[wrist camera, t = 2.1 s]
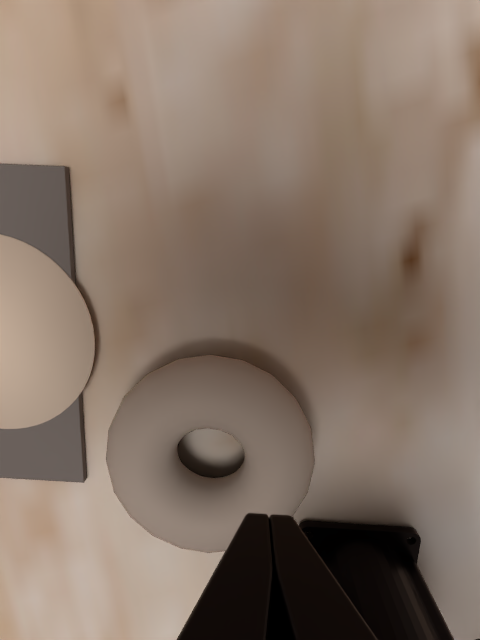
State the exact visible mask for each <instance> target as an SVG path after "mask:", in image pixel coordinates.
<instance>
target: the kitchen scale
mask: <svg viewBox="0 0 480 640" xmlns="http://www.w3.org/2000/svg"><path fill="white" fill-rule="evenodd" d="M94 356H95V336H94V328H93V324H92V320H91V316H90V313H89V310H88V308H87V305H86V303H85V301H84V299H83V297H82V295H81V293H80V291H79V289H78V288H77V287H76V283H75V266H74V249H73V232H72V215H71V198H70V181H69V168H68V167H65V166H44V165H18V164H0V478H14V479H31V480H48V481H65V482H82V483H84V481H85V480H86V478H87V472H86V455H85V438H84V421H83V403H82V390H83V389H84V387H85V385H86V383H87V381H88V379H89V377H90V373H91V370H92V367H93V362H94Z"/></svg>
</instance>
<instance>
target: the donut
mask: <svg viewBox="0 0 480 640" xmlns="http://www.w3.org/2000/svg"><path fill="white" fill-rule="evenodd" d="M203 428H211V429H217V430H222V431H224V432H226V433H228V434H230V435H232V436H233V437H234V438H235V439H236V440H237V441H239V442H240V444H241V446H242V448H243V450H244V453H245V458H244V462H243V464H242V465H241V467H240V468H239V469H238V470H237V471H236V472H235V473H233V474H230V475H228V476H226V477H219V478H209V477H203V476H200V475H198V474H195V473H193V472H191V471H190V470H189V469H188V468H186V467H185V466H184V465H183V464H182V463H181V461H180V459H179V457H178V452H177V446H178V443H179V441H180V439H181V438H183V437H184V436H185V435H186V434H187V433H189V432H192V431H194V430H196V429H203ZM106 462H107V466H108V470H109V474H110V478H111V482H112V486H113V490H114V493H115V494H116V496H117V497H118V499H119V500H120V502H121V503H122V505H123V507H124V508H125V510H126V511H127V513H128V514H129V516H130V517H131V518H132V519H134V520H135V521H136V522H137V523H138V524H139V525H141V526H142V527H143V528H144V529H145V530H147V531H148V532H149V533H150V534H151V535H153V536H155V537H157V538H159V539H161V540H164V541H166V542H168V543H170V544H172V545H175V546H177V547H179V548H183V549H189V550H195V551H201V552H207V553H212V552H222V551H226V549H227V548H228V546H229V544H230V542H231V540H232V539H233V537H234V535H235V533H236V531H237V530H238V528H239V526H240V524H241V522H242V520H243V519H244V517H245V515H246V514H247V513H262V514H267V515H268V517H270V515H272V514H278V515H290V516H293V514H294V513H295V511H296V510H297V508H298V507H299V505H300V504H301V502H302V501H303V499H304V497H305V496H306V494H307V493H308V489H309V485H310V481H311V477H312V472H313V468H314V450H313V442H312V433H311V427H310V425H309V423H308V421H307V419H306V418H305V416H304V414H303V412H302V410H301V408H300V406H299V404H298V402H297V400H296V398H295V397H294V396H293V395H292V394H291V393H290V392H289V391H288V390H287V389H286V388H285V387H284V386H283V385H282V384H281V383H280V382H279V381H278V380H277V379H276V378H275V377H274V376H273V375H271V374H269V373H267V372H265V371H263V370H261V369H259V368H258V367H256V366H254V365H252V364H250V363H248V362H246V361H244V360H239V359H233V358H227V357H221V356H215V355H205V356H198V357H190V358H183V359H178V360H175V361H173V362H171V363H169V364H167V365H165V366H163V367H161V368H159V369H157V370H155V371H152V372H150V373H149V374H147V375H146V376H145V377H144V378H143V379H142V380H141V381H140V382H139V383H138V384H137V385H136V386H135V387H134V388H133V389H132V390H131V391H130V392H128V393H127V394H126V395H125V396H124V398H123V400H122V402H121V404H120V406H119V408H118V410H117V412H116V415H115V417H114V419H113V421H112V423H111V425H110V428H109V431H108V442H107V453H106Z"/></svg>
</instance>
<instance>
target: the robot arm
mask: <svg viewBox="0 0 480 640" xmlns="http://www.w3.org/2000/svg"><path fill="white" fill-rule="evenodd" d="M306 531H311V532H309V533H306ZM409 537H412V538H410V539H407V538H409ZM420 542H421V538H420V537H419V535H418V533H417V531H416V530H415V529H414V528H411V527H397V526H381V525H364V524H347V523H331V522H314V521H305V522H303V523H301V524H300V525H299V526H298V524H297V523H296V521H295V520H294V518H293V517H292V516H290V515H278V514H272V515H270V517H268V515H267V514H262V513H247V514H246V515H245V517H244V519H243V520H242V522H241V524H240V526H239V528H238V530H237V531H236V533H235V535H234V537H233V539H232V540H231V542H230V544H229V546H228V548H227V549H226V551H225V553H224V555H223V557H222V559H221V560H220V562H219V564H218V566H217V568H216V569H215V571H214V573H213V575H212V577H211V578H210V580H209V582H208V584H207V586H206V587H205V589H204V591H203V593H202V595H201V597H200V598H199V600H198V602H197V604H196V606H195V607H194V609H193V611H192V613H191V615H190V616H189V618H188V620H187V622H186V624H185V626H184V627H183V629H182V631H181V633H180V635H179V636H178V638H177V640H454V639H453V637H452V635H451V632H450V630H449V628H448V626H447V624H446V622H445V620H444V618H443V616H442V614H441V612H440V610H439V608H438V606H437V604H436V602H435V600H434V598H433V596H432V594H431V592H430V590H429V588H428V586H427V584H426V582H425V580H424V578H423V576H422V574H421V572H420V570H419V568H418V566H417V559H418V554H419V548H420ZM476 640H480V639H476Z"/></svg>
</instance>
